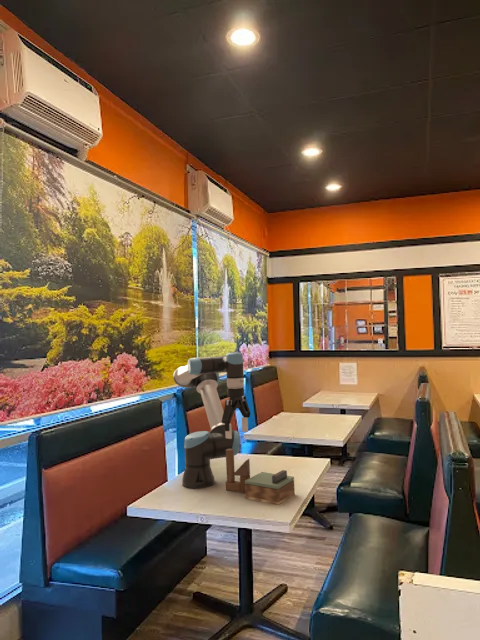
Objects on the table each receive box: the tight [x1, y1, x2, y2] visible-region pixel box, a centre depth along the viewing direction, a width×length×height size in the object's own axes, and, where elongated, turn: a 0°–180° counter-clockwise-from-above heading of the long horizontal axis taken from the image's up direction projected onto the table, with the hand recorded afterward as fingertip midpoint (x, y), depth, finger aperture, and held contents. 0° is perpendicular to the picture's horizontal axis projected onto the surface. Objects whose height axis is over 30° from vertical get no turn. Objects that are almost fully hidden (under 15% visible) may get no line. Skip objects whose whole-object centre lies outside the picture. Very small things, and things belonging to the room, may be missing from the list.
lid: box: [245, 469, 295, 489], centre depth 210 cm, size 16×14×4 cm
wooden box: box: [244, 479, 295, 506], centre depth 210 cm, size 16×14×6 cm
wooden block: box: [225, 449, 251, 494], centre depth 219 cm, size 4×11×18 cm, turn 66°
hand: (237, 435), depth 220 cm, fingers open, 13 cm apart
